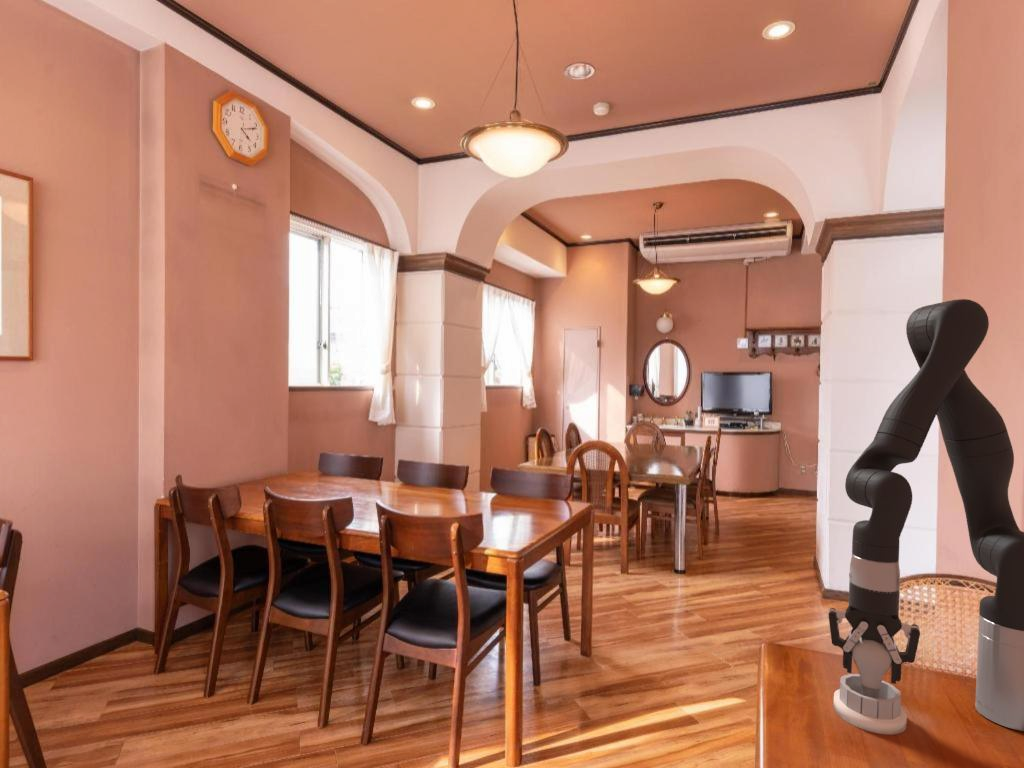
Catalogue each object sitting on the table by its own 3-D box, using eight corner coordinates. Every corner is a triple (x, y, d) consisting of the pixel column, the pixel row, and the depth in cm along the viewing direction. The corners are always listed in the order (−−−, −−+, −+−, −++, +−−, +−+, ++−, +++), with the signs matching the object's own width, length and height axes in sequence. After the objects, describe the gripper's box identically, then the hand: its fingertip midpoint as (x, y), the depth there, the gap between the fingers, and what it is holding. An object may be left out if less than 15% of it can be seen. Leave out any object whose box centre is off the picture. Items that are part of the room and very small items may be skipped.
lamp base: (881, 698, 109) (882, 672, 109) (921, 735, 98) (922, 706, 98) (821, 696, 109) (822, 670, 109) (854, 733, 98) (855, 703, 98)
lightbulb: (896, 711, 100) (899, 647, 100) (857, 706, 101) (859, 643, 101) (881, 692, 106) (884, 632, 106) (844, 687, 107) (847, 628, 107)
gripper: (922, 584, 103) (918, 678, 103) (828, 568, 110) (826, 656, 110) (925, 597, 96) (922, 698, 97) (826, 580, 104) (823, 673, 104)
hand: (870, 675), depth 104 cm, fingers closed on lightbulb, 6 cm apart
